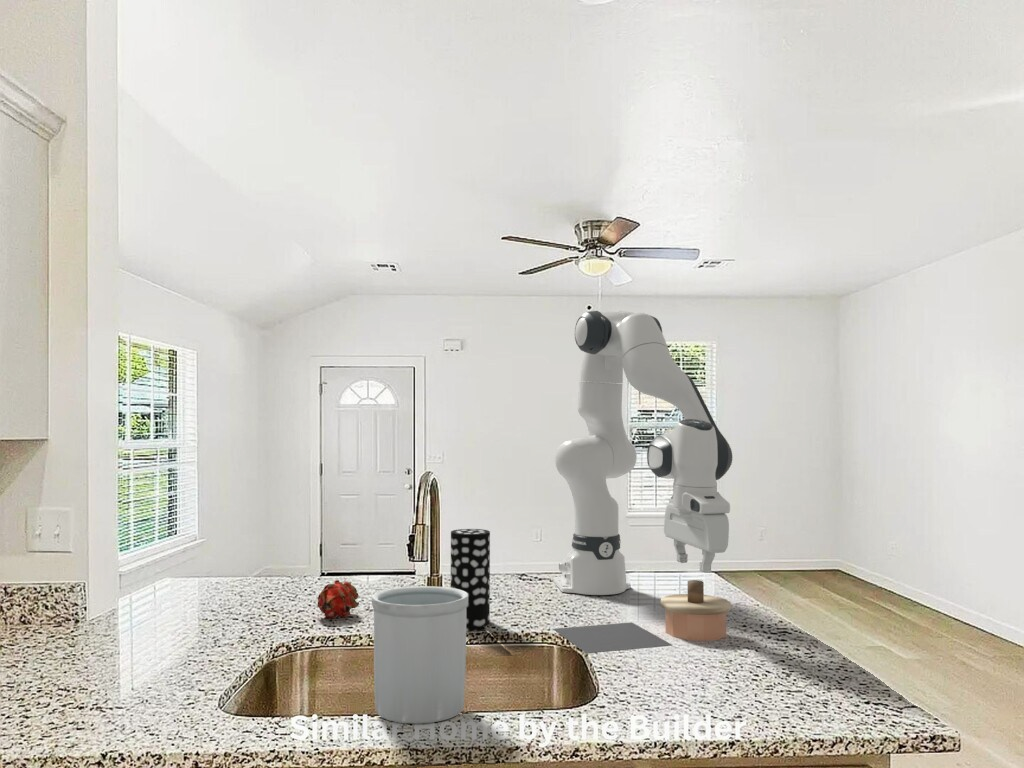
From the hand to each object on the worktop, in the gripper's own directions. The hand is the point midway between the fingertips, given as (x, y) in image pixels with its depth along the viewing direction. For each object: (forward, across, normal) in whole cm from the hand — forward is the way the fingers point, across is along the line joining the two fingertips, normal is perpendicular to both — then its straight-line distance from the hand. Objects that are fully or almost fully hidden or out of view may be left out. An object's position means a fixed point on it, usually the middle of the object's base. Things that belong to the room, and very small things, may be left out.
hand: (693, 566), depth 174 cm
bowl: (+14, +1, 0) cm, 14 cm away
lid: (+8, +1, 0) cm, 8 cm away
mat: (+14, -1, -18) cm, 23 cm away
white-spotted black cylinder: (+15, -20, -42) cm, 49 cm away
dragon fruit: (+16, -36, -68) cm, 78 cm away
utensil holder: (+14, +25, -61) cm, 68 cm away
